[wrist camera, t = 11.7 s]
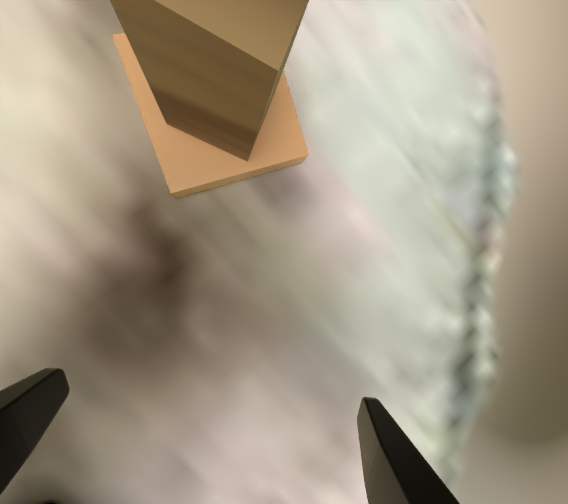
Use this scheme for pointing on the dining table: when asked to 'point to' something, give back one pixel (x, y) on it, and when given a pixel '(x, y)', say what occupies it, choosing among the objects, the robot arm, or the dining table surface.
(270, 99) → the walnut block
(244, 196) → the dining table surface
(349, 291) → the dining table surface
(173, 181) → the terracotta tile
